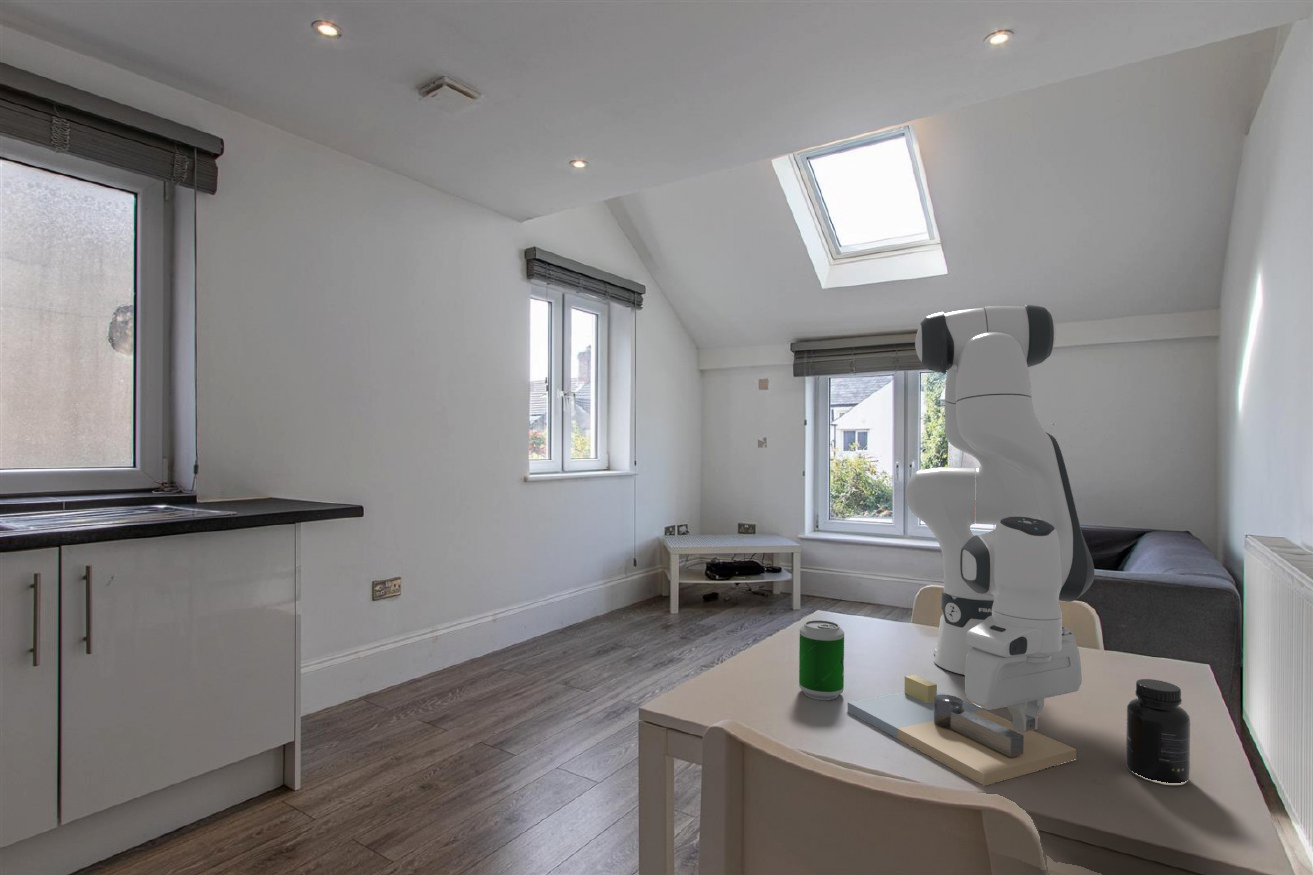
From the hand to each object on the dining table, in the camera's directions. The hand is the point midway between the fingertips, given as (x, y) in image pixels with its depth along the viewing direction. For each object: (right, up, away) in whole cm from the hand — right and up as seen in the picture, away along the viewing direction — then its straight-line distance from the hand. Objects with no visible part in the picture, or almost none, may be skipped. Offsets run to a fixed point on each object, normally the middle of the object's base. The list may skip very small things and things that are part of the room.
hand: (1025, 729), depth 97 cm
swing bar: (-7, -1, 0) cm, 7 cm away
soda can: (-24, -3, +21) cm, 32 cm away
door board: (-9, -3, +5) cm, 11 cm away
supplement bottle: (+14, -3, -7) cm, 16 cm away
